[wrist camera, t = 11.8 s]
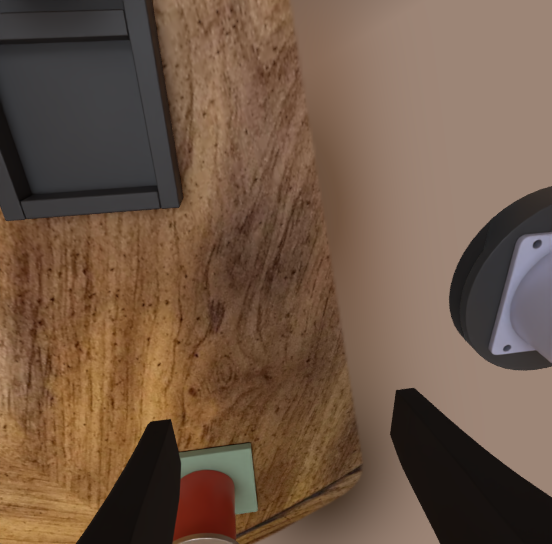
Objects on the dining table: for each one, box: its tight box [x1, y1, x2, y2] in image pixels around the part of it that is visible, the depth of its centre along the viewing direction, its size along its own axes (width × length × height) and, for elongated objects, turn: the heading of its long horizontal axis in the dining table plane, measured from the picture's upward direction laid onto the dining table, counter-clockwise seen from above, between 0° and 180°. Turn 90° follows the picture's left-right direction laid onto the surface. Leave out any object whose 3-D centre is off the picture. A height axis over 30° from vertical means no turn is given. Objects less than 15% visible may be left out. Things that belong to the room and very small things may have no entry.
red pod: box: [172, 470, 239, 544], centre depth 24 cm, size 5×5×5 cm
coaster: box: [179, 443, 258, 514], centre depth 26 cm, size 7×7×1 cm
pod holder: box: [0, 0, 183, 221], centre depth 14 cm, size 7×14×2 cm, turn 3°
